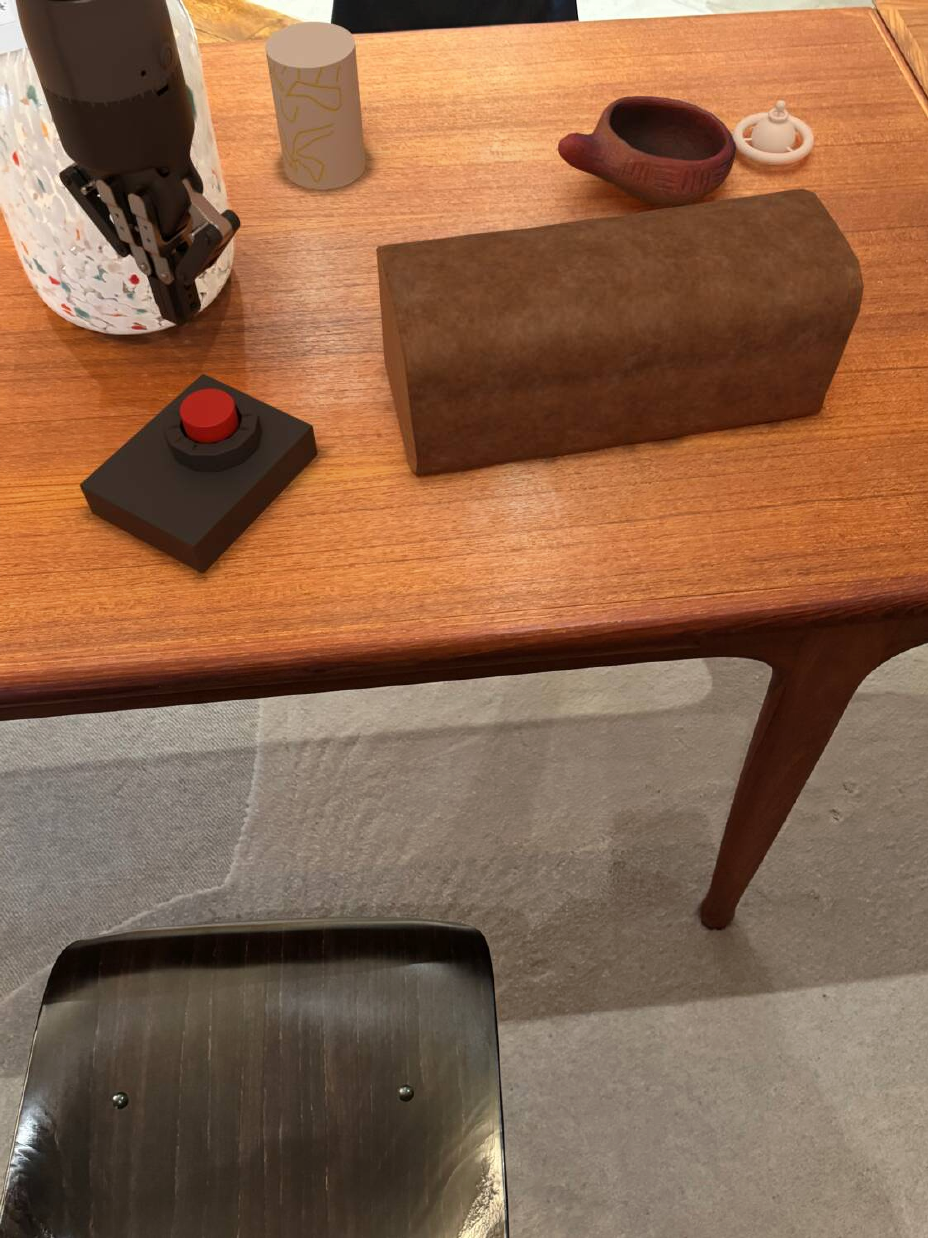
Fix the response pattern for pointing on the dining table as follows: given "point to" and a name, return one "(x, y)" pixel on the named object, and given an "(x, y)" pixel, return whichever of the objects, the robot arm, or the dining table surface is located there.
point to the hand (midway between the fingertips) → (182, 315)
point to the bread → (614, 328)
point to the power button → (209, 415)
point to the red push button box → (200, 477)
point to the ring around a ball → (773, 137)
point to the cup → (317, 104)
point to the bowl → (655, 150)
